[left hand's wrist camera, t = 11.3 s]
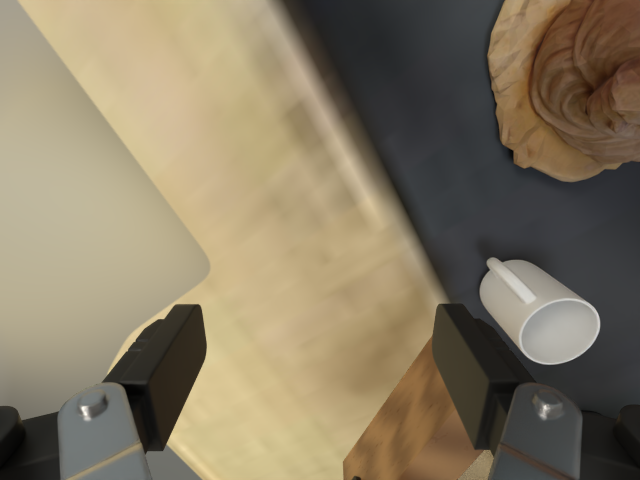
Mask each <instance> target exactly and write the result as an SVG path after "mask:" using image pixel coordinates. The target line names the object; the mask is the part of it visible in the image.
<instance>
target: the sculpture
mask: <svg viewBox="0 0 640 480" xmlns="http://www.w3.org/2000/svg"><path fill="white" fill-rule="evenodd" d="M487 59H488V66H489V73H490V78H491V81H492V88H491V89H492V90H493V91H494V95H495V100H496V103H497V109H496V116H497V119H498V123H499V131H500V140H501V142H502V144H503V145H504V146H506V147H508V148H510V149H512V150H513V151H514V164H516V165H518V166H520V167H522V168H528V167H532V168H535V169H537V170H539V171H541V172H543V173H545V174H547V175H549V176H551V177H553V178H556V179H558V180H561V181H566V182H575V181H580V180H584V179H588V178H590V177H593V176H595V175H597V174H599V173H600V172H601V171H603V170H604V169H617V168H618V167H619V166H620V165H621V164H622V163H625V162H629V161H635V162H640V0H505V1H504V3H503V6H502V8H501V11H500V13H499V16H498V18H497V21H496V23H495V26H494V28H493V31H492V33H491V40H490V47H489V51H488V55H487Z"/></svg>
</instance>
